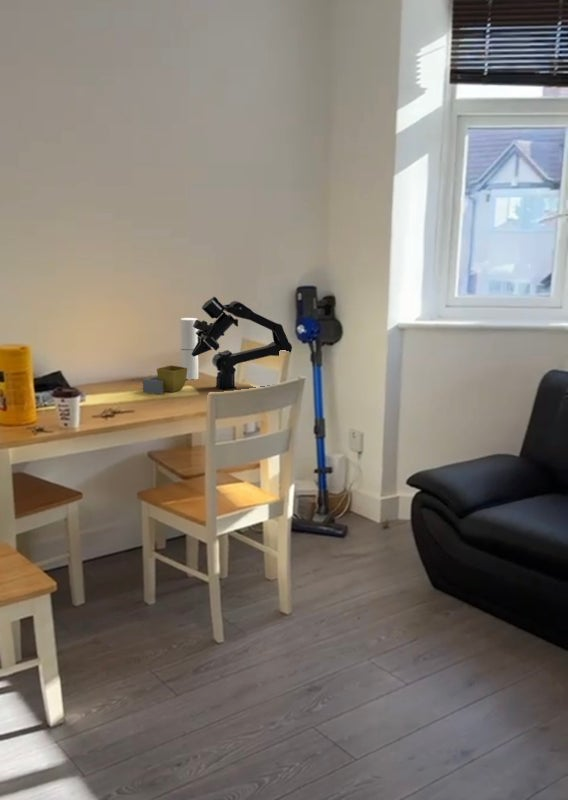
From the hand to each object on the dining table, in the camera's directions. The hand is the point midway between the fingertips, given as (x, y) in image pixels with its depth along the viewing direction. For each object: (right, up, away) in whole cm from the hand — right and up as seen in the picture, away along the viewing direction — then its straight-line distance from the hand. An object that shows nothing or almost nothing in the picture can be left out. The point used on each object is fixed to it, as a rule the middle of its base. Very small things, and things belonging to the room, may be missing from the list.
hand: (192, 355), depth 302 cm
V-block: (-15, -14, -2) cm, 21 cm away
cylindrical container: (-4, -8, +24) cm, 26 cm away
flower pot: (-8, -14, +1) cm, 16 cm away
